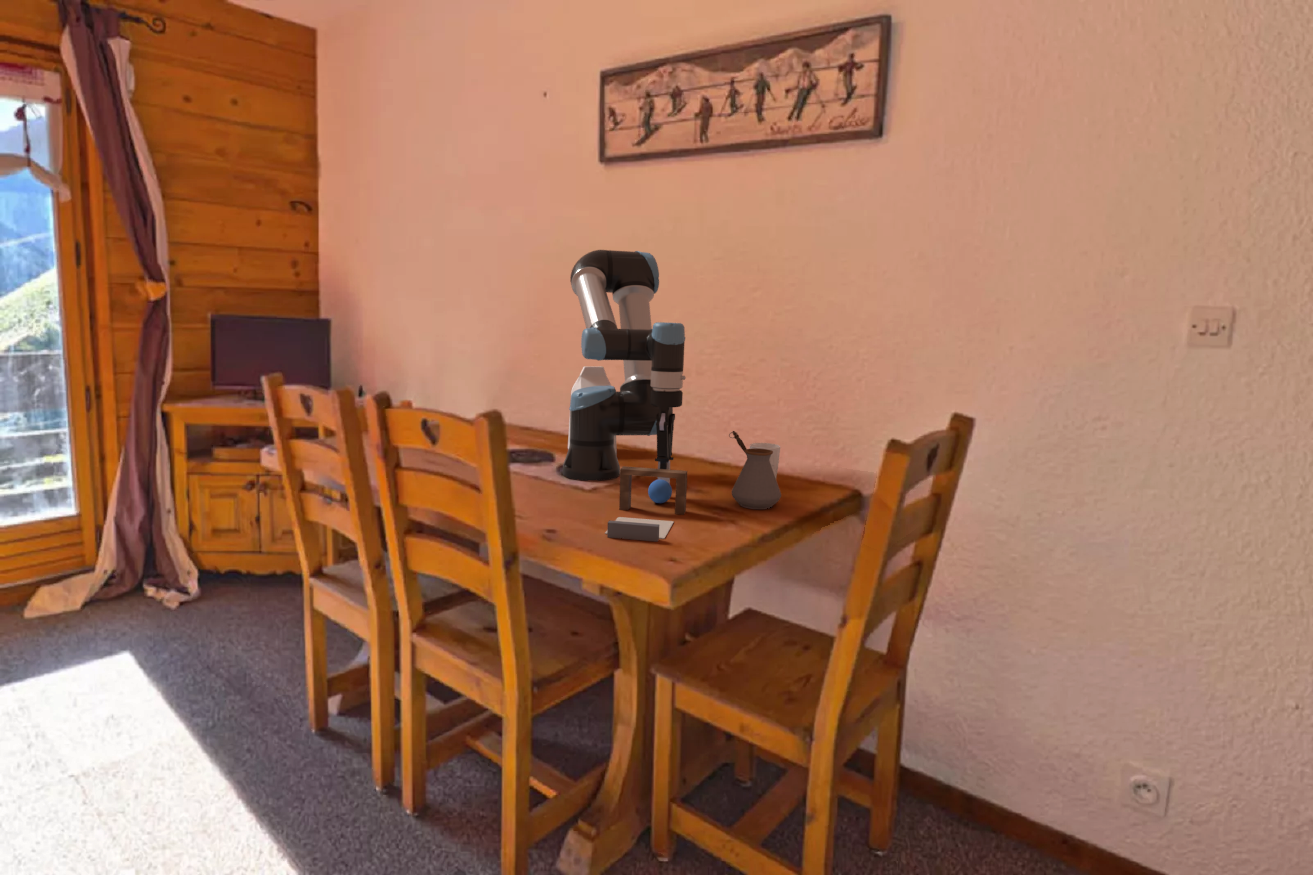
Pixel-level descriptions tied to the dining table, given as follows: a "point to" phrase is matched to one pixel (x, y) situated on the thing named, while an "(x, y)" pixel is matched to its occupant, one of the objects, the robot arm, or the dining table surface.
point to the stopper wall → (633, 530)
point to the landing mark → (663, 525)
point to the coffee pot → (756, 479)
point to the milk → (591, 385)
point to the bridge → (651, 472)
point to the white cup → (774, 457)
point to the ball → (660, 491)
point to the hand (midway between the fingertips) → (663, 487)
